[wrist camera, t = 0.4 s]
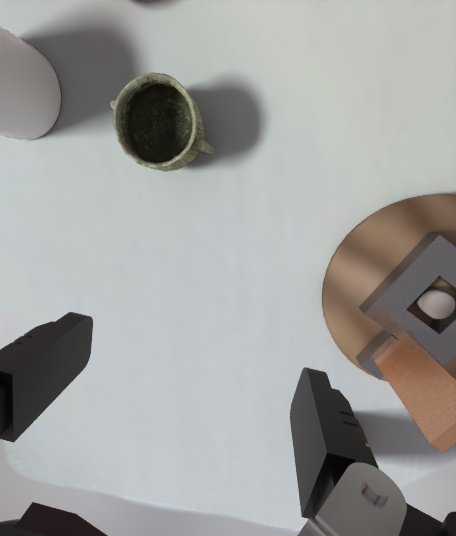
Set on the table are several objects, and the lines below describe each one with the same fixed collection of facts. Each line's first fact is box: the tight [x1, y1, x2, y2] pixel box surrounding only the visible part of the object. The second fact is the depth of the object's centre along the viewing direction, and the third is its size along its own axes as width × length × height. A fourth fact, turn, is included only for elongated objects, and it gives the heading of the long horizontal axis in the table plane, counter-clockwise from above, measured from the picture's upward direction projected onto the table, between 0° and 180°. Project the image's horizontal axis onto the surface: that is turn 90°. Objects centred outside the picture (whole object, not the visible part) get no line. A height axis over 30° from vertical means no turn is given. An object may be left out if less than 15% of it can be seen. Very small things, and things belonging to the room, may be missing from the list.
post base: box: [322, 194, 456, 382], centre depth 34 cm, size 24×24×6 cm
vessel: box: [110, 73, 215, 171], centre depth 32 cm, size 12×9×6 cm
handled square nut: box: [356, 232, 456, 453], centre depth 29 cm, size 17×11×14 cm
